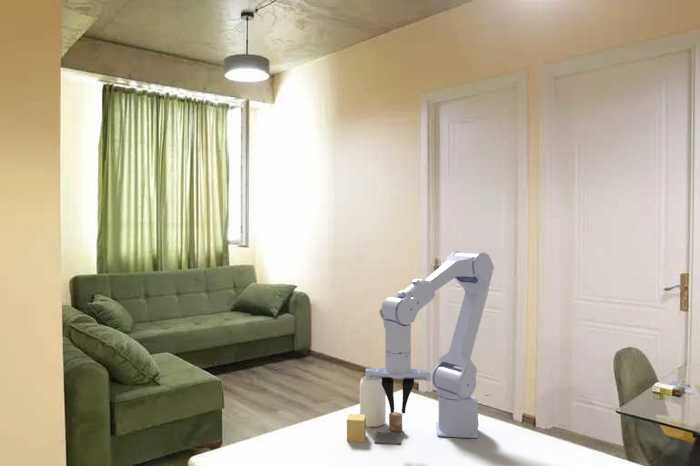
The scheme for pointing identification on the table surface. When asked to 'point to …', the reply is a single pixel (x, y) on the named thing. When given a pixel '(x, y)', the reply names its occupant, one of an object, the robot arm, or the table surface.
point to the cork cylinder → (395, 422)
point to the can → (372, 401)
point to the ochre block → (356, 427)
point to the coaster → (388, 438)
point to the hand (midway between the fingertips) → (398, 411)
